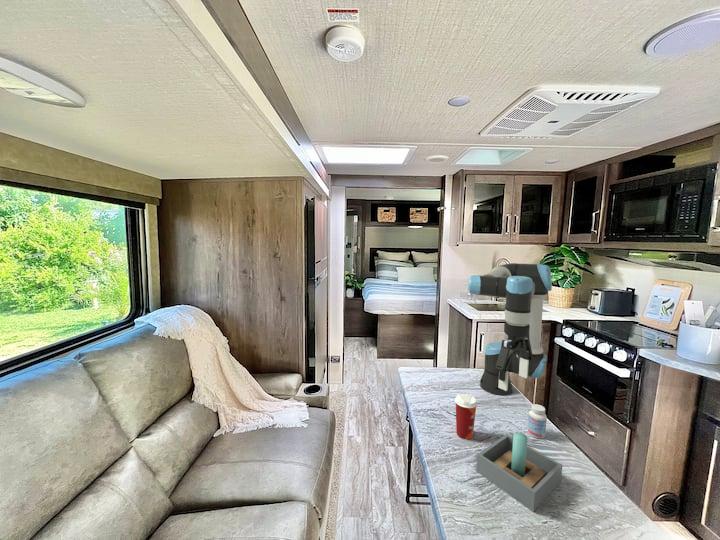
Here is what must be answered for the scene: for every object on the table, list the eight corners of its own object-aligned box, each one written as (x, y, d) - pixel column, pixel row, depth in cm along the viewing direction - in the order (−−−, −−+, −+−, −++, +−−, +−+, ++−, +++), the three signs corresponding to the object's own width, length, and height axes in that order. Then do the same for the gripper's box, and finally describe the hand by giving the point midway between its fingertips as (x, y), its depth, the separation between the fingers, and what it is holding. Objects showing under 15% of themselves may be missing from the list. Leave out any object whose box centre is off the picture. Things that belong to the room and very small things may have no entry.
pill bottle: (525, 434, 117) (527, 407, 116) (529, 427, 122) (531, 401, 120) (543, 441, 113) (545, 413, 112) (546, 433, 117) (549, 407, 116)
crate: (505, 449, 109) (506, 433, 108) (560, 482, 94) (562, 464, 94) (476, 471, 99) (477, 454, 98) (533, 512, 84) (534, 492, 83)
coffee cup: (477, 443, 112) (479, 405, 110) (454, 440, 114) (456, 403, 112) (473, 429, 120) (475, 393, 119) (452, 426, 122) (453, 391, 120)
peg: (514, 469, 99) (517, 430, 98) (527, 477, 96) (530, 437, 94) (508, 475, 97) (510, 435, 95) (520, 483, 94) (523, 442, 92)
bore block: (509, 457, 105) (509, 449, 104) (546, 480, 95) (546, 471, 95) (490, 472, 98) (490, 464, 98) (527, 499, 88) (528, 490, 88)
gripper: (523, 313, 109) (520, 368, 112) (485, 327, 95) (482, 389, 98) (545, 318, 103) (541, 376, 106) (508, 333, 89) (504, 399, 92)
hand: (513, 382), depth 102 cm, fingers open, 13 cm apart
